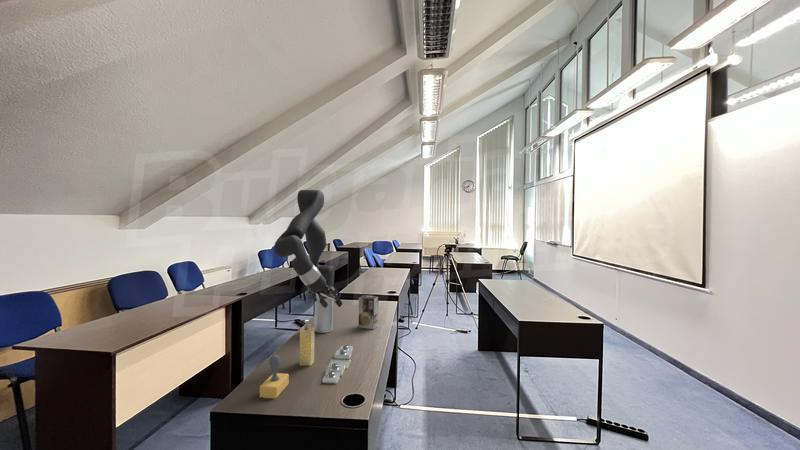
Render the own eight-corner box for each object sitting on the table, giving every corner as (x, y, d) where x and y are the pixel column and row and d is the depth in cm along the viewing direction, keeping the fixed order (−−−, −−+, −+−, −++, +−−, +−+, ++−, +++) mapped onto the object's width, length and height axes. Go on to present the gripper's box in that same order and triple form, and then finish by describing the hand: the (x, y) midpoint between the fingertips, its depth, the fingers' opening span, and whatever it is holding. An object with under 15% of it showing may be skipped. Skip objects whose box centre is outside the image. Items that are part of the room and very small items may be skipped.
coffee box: (378, 326, 187) (379, 296, 186) (373, 329, 180) (374, 298, 180) (363, 324, 190) (363, 294, 189) (357, 327, 183) (358, 297, 183)
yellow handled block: (273, 383, 121) (273, 349, 121) (289, 384, 121) (289, 349, 120) (259, 397, 111) (259, 360, 111) (276, 398, 111) (276, 361, 111)
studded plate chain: (338, 348, 153) (338, 342, 153) (356, 349, 153) (356, 343, 153) (318, 382, 122) (318, 374, 122) (340, 383, 121) (341, 375, 121)
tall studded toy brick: (303, 360, 140) (303, 323, 140) (314, 361, 140) (314, 323, 140) (299, 365, 136) (299, 326, 135) (310, 365, 136) (311, 327, 135)
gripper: (329, 269, 137) (350, 298, 144) (305, 273, 145) (326, 300, 152) (319, 283, 132) (341, 312, 139) (295, 285, 140) (317, 313, 147)
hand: (333, 306), depth 145 cm, fingers open, 8 cm apart
